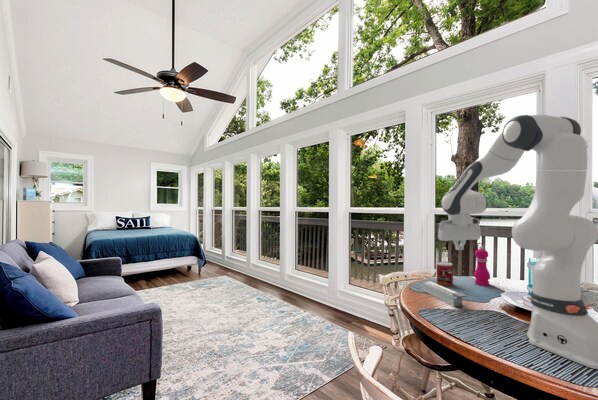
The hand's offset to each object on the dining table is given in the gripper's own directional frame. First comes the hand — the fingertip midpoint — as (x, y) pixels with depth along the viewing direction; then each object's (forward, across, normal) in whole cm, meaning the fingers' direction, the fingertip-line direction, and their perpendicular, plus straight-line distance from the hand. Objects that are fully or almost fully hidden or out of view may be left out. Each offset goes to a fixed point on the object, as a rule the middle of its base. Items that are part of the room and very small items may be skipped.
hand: (459, 249), depth 133 cm
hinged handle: (+21, -11, -3) cm, 24 cm away
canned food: (+21, +5, +17) cm, 28 cm away
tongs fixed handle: (+21, -12, -3) cm, 24 cm away
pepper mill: (+21, +24, +13) cm, 35 cm away
